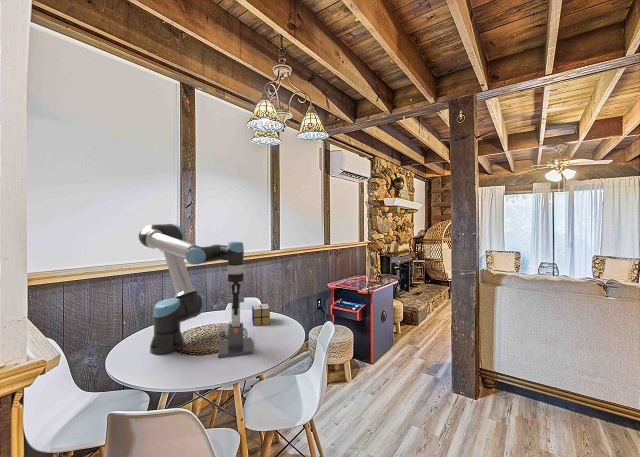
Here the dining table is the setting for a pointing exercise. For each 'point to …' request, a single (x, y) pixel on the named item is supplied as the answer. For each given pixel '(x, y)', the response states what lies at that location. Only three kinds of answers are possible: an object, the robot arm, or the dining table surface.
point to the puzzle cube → (260, 314)
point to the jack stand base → (235, 343)
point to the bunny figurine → (224, 329)
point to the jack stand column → (230, 300)
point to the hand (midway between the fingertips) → (235, 319)
